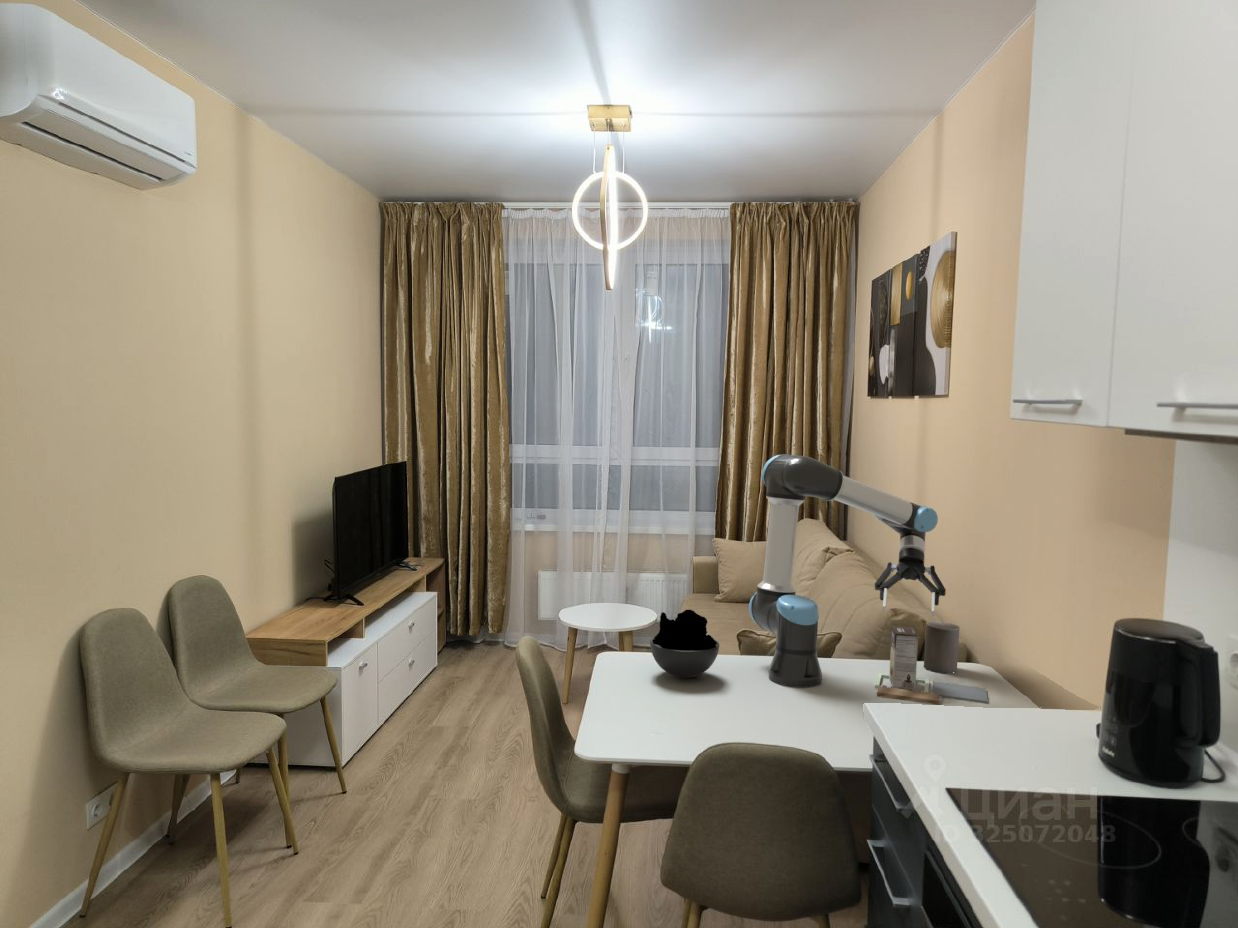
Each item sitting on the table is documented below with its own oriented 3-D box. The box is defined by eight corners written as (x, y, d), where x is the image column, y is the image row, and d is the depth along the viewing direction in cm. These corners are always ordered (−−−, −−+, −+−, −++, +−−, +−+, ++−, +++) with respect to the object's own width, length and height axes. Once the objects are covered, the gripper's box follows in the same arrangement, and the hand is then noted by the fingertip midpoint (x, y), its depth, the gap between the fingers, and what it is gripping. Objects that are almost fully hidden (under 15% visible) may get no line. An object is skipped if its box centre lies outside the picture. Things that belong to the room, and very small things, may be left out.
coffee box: (888, 679, 235) (890, 625, 234) (911, 681, 233) (913, 626, 233) (892, 689, 226) (895, 633, 225) (916, 691, 224) (919, 634, 224)
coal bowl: (722, 669, 240) (724, 607, 239) (712, 690, 221) (715, 622, 220) (657, 663, 245) (659, 602, 244) (642, 682, 226) (643, 616, 225)
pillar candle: (919, 669, 246) (922, 621, 245) (927, 662, 254) (930, 615, 253) (953, 676, 240) (956, 626, 239) (960, 668, 248) (963, 620, 247)
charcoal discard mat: (931, 695, 221) (932, 693, 221) (932, 683, 232) (932, 681, 232) (987, 703, 216) (987, 701, 216) (985, 690, 227) (985, 688, 227)
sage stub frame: (875, 687, 227) (875, 684, 227) (878, 675, 238) (878, 673, 238) (928, 695, 222) (928, 692, 221) (928, 682, 233) (928, 679, 233)
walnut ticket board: (876, 695, 220) (876, 692, 220) (878, 689, 225) (878, 685, 225) (939, 704, 214) (939, 700, 214) (939, 697, 219) (939, 694, 219)
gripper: (954, 563, 250) (953, 622, 237) (870, 557, 259) (865, 613, 246) (955, 549, 245) (954, 608, 232) (869, 543, 254) (864, 599, 241)
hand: (908, 611), depth 239 cm, fingers open, 13 cm apart
